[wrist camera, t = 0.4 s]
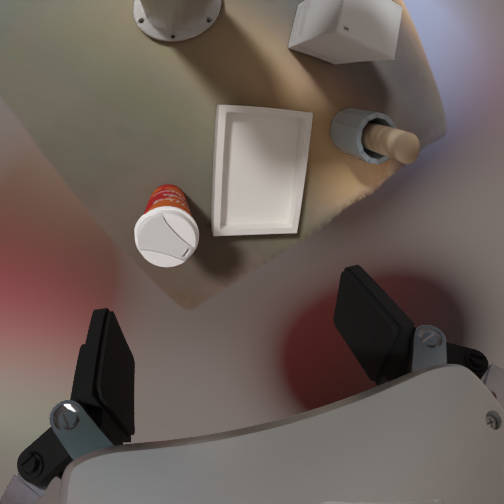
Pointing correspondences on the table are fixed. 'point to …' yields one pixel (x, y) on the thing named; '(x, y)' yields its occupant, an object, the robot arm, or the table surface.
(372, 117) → the cup
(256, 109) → the tray
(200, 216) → the table surface
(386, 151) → the dowel
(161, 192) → the paper cup
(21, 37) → the table surface
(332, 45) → the supplement box
